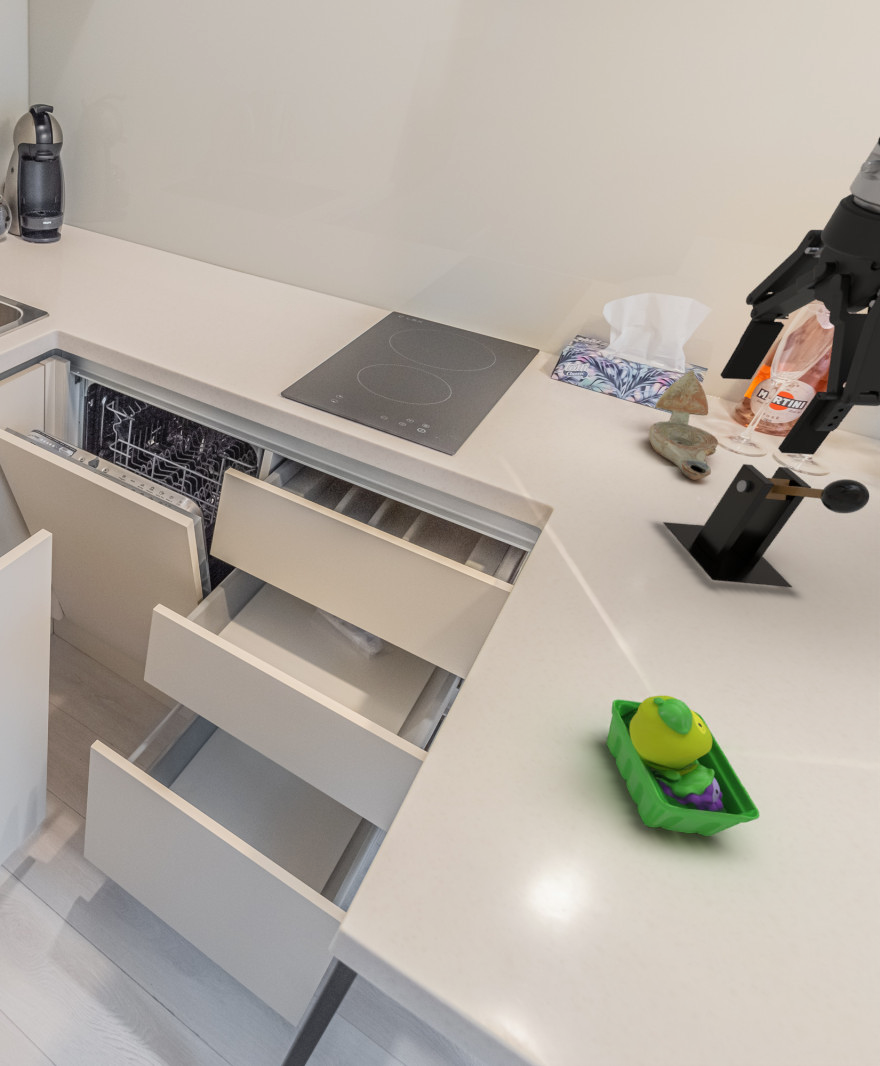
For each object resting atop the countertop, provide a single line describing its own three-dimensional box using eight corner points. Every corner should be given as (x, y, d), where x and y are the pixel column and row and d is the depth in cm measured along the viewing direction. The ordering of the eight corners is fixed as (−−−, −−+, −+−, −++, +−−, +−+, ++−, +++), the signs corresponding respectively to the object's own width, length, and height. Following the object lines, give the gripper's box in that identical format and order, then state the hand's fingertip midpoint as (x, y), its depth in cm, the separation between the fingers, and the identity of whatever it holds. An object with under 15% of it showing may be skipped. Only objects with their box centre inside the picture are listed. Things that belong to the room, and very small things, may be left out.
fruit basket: (732, 855, 63) (813, 772, 57) (618, 836, 64) (684, 753, 58) (671, 745, 72) (735, 662, 66) (572, 730, 73) (625, 648, 67)
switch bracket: (786, 595, 91) (854, 507, 83) (707, 587, 92) (767, 500, 84) (729, 535, 100) (785, 452, 93) (658, 529, 101) (708, 446, 93)
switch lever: (875, 516, 78) (883, 482, 77) (837, 513, 78) (845, 479, 78) (771, 503, 91) (777, 473, 90) (739, 500, 91) (746, 470, 91)
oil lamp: (691, 431, 124) (723, 375, 118) (723, 498, 108) (763, 436, 102) (631, 421, 126) (659, 365, 120) (654, 484, 110) (688, 423, 104)
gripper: (780, 155, 74) (677, 350, 88) (940, 264, 56) (778, 485, 70) (870, 154, 72) (751, 352, 87) (1063, 265, 55) (873, 491, 69)
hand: (763, 412), depth 79 cm, fingers open, 13 cm apart
